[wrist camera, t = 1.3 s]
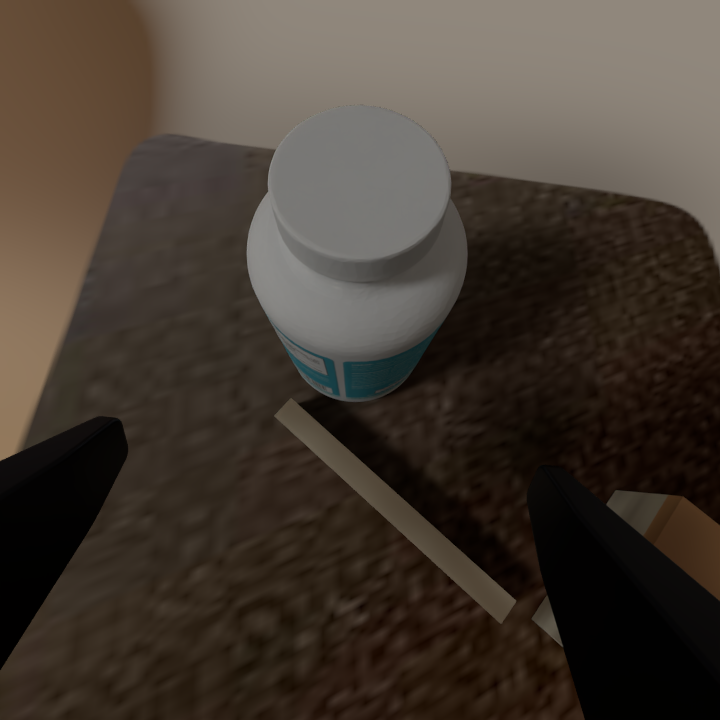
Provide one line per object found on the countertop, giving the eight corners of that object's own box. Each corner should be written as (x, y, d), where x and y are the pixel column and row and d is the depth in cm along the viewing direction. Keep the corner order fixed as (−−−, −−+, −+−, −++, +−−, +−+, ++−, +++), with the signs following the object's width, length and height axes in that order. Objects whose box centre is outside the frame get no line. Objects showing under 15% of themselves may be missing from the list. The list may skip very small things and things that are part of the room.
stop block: (599, 680, 19) (673, 743, 15) (531, 618, 19) (582, 662, 15) (680, 542, 21) (767, 563, 16) (615, 490, 21) (682, 496, 17)
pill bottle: (423, 291, 24) (516, 80, 11) (412, 412, 22) (507, 335, 9) (301, 274, 24) (245, 46, 11) (279, 395, 22) (178, 292, 9)
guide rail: (485, 608, 20) (501, 624, 18) (280, 420, 22) (274, 415, 20) (499, 587, 20) (516, 600, 18) (295, 404, 22) (290, 397, 20)
